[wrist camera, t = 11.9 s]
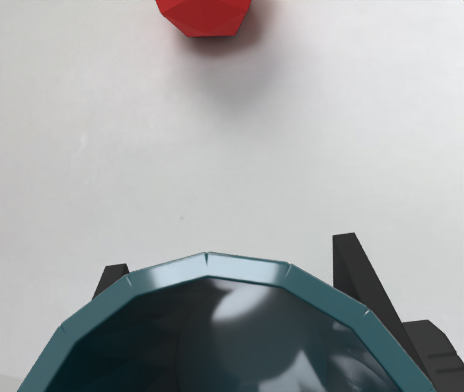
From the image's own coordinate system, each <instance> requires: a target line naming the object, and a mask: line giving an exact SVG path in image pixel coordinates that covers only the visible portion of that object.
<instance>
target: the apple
mask: <svg viewBox="0 0 464 392" xmlns="http://www.w3.org/2000/svg"><path fill="white" fill-rule="evenodd" d="M155 1H156V3H157V5H158V8H159V10H160V12H161V14H162V15H163V16H164V17H165V18H167V19H168V20H169V21H170V22H171V23H172V24H174V25H175V26H176V27H177V28H178V29H179V30H180V31H182V32H183V33H184V34H185V35H186V36H187V37H203V36H233V35H235V34H236V33H237V31H238V29H239V27H240V25H241V23H242V21H243V19H244V17H245V15H246V13H247V11H248V9H249V6H250V3H251V0H155Z"/></svg>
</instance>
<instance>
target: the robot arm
mask: <svg viewBox="0 0 464 392" xmlns="http://www.w3.org/2000/svg"><path fill="white" fill-rule="evenodd" d="M129 273H130V272H129V270H128V267H127V265H126V263H125V264H118V265H111V266H106V267H105V269H104V272H103V274H102V276H101V279H100V281H99V284H98V286H97V288H96V291H95V293H94V296H93V298H92V300H93V299H94V298H95V297H97V296H98V295H99V294H101V293H102V292H103V291H105V290H106V289H107V288H109V287H110V286H111V285H113V284H114V283H115V282H116V281H118V280H119V279H120V278H122V277H123V276H124V275H126V274H129ZM333 287H334V288H336V289H337V290H339V291H341V292H343V293H344V294H346V295H348V296H350V297H351V298H353V299H355V300H357V301H358V302H360V303H362V304H364V305H365V306H366V307H367V308H368V309H370V310H371V311H372V312H373V313H374V314H375V315H376V317H377V318H378V319H379V320H380V321H381V323H382V324H383V325H384V326H385V327H386V329H387V330H388V331H389V332H390V333H391V335H392V336H393V337H394V338H395V339H396V341H397V342H398V343H399V344H400V345H401V347H402V348H403V349H404V350H405V351H406V353H407V354H408V355H409V356H410V357H411V359H412V360H413V361H414V362H415V363H416V365H417V366H418V367H419V368H420V369H421V371H422V372H423V373H424V374H425V375H426V377H427V378H428V379H429V380H430V381H431V383H432V384H433V387H434V388H435V390H436V391H437V392H464V363H463V362H462V360H461V358H460V357H459V356H458V355H457V353H456V350H455V349H454V347H453V346H452V344H451V343H450V341H449V339H448V338H447V336H446V335H445V334H444V333H443V332H442V331H441V330H440V329H439V328H437V327H436V326H435V325H434V324H433V323H431V322H430V321H429V320H420V321H412V322H403V323H402V322H401V320H400V318H399V317H398V315H397V313H396V311H395V309H394V307H393V305H392V303H391V301H390V299H389V298H388V296H387V294H386V292H385V290H384V288H383V286H382V284H381V282H380V280H379V278H378V277H377V275H376V273H375V271H374V269H373V267H372V265H371V263H370V261H369V259H368V258H367V256H366V254H365V252H364V250H363V248H362V246H361V244H360V242H359V240H358V239H357V237H356V235H355V233H347V234H339V235H333Z"/></svg>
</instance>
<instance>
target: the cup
mask: <svg viewBox="0 0 464 392" xmlns="http://www.w3.org/2000/svg"><path fill="white" fill-rule="evenodd" d="M17 392H437V391H436V390H435V388H434V387H433V384H432V383H431V381H430V380H429V379H428V378H427V377H426V375H425V374H424V373H423V372H422V371H421V369H420V368H419V367H418V366H417V365H416V363H415V362H414V361H413V360H412V359H411V357H410V356H409V355H408V354H407V353H406V351H405V350H404V349H403V348H402V347H401V345H400V344H399V343H398V342H397V341H396V339H395V338H394V337H393V336H392V335H391V333H390V332H389V331H388V330H387V329H386V327H385V326H384V325H383V324H382V323H381V321H380V320H379V319H378V318H377V317H376V315H375V314H374V313H373V312H372V311H371V310H370V309H368V308H367V307H366V306H365V305H364V304H362V303H360V302H358V301H357V300H355V299H353V298H351V297H350V296H348V295H346V294H344V293H343V292H341V291H339V290H337V289H336V288H334V287H332V286H330V285H329V284H327V283H325V282H323V281H322V280H320V279H318V278H316V277H315V276H313V275H311V274H309V273H308V272H306V271H304V270H302V269H301V268H299V267H297V266H295V265H294V264H289V263H287V262H284V261H276V260H269V259H261V258H254V257H246V256H238V255H231V254H223V253H216V252H207V253H206V252H202V253H199V254H195V255H191V256H188V257H184V258H180V259H177V260H173V261H169V262H166V263H162V264H158V265H155V266H151V267H147V268H144V269H140V270H136V271H133V272H130V273H129V274H126V275H124V276H123V277H122V278H120V279H119V280H118V281H116V282H115V283H114V284H113V285H111V286H110V287H109V288H107V289H106V290H105V291H103V292H102V293H101V294H99V295H98V296H97V297H95V298H94V299H93V300H91V301H90V302H89V303H88V304H86V305H85V306H84V307H82V308H81V309H80V310H78V311H77V312H76V313H74V314H73V315H72V316H70V317H69V318H68V319H66V320H65V321H64V322H63V323H62V324H61V326H59V327H58V328H57V330H56V331H55V333H54V334H53V336H52V338H51V339H50V341H49V342H48V344H47V345H46V347H45V348H44V350H43V352H42V353H41V355H40V356H39V358H38V359H37V361H36V362H35V364H34V366H33V367H32V369H31V370H30V372H29V373H28V375H27V376H26V378H25V380H24V381H23V383H22V384H21V386H20V387H19V389H18V391H17Z"/></svg>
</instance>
